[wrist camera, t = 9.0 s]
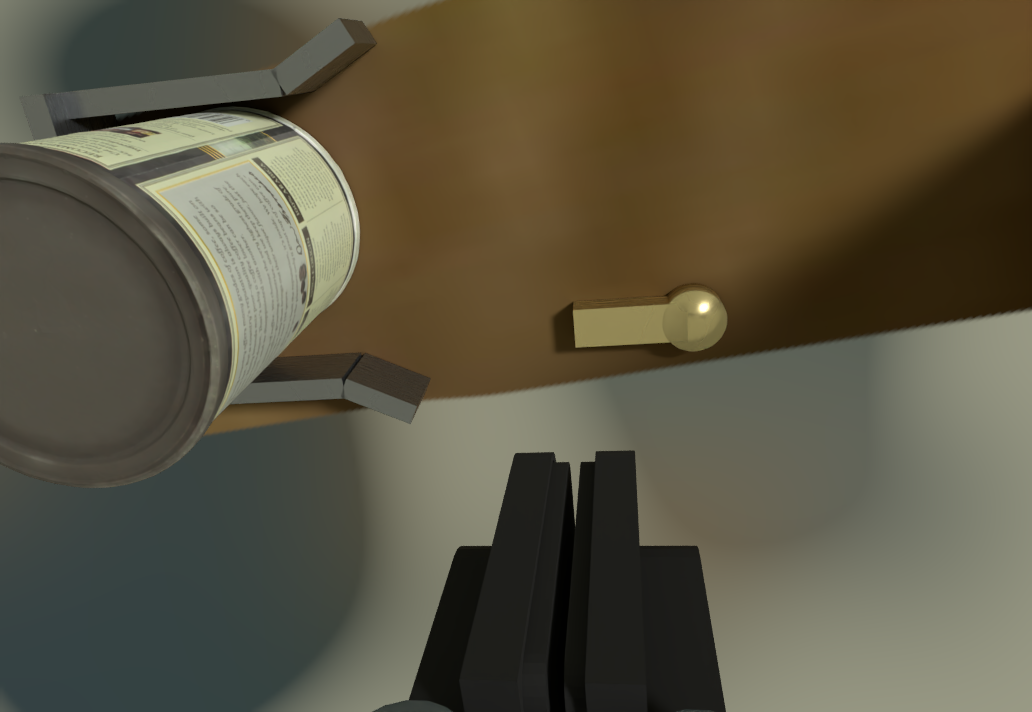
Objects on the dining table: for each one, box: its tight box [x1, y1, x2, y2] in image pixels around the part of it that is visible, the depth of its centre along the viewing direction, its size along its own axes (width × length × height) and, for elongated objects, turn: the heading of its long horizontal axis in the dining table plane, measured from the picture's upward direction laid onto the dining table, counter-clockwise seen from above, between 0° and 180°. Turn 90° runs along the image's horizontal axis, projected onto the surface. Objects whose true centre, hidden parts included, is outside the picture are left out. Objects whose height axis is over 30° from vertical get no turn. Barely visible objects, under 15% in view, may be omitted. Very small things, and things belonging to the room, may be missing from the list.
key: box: [573, 283, 727, 351], centre depth 32 cm, size 7×3×1 cm, turn 96°
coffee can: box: [0, 106, 360, 488], centre depth 26 cm, size 10×10×14 cm
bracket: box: [20, 18, 430, 424], centre depth 31 cm, size 13×17×4 cm
